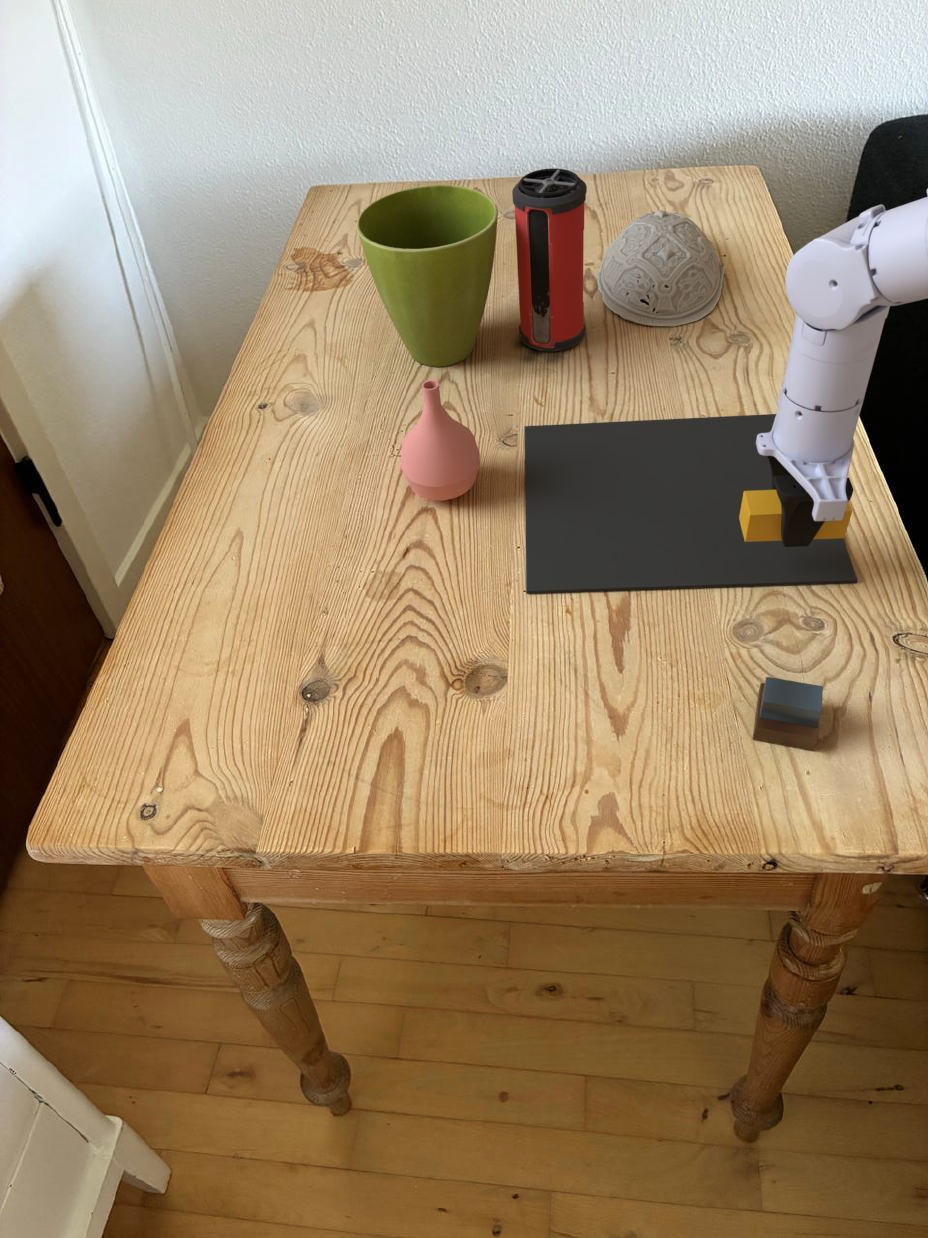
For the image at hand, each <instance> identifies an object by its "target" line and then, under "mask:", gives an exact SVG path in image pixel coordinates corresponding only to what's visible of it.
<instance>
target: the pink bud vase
mask: <svg viewBox="0 0 928 1238" xmlns="http://www.w3.org/2000/svg"><path fill="white" fill-rule="evenodd" d="M421 390H422V399H423V403H424V408H423V410H422V413H421V415H420V417H419V419H418V421H417V423H416V424H415V425H414V426H413V427H412V428H411V429H410V430H408V432H407V433H406V435H405V436H404V437H403V439H402V441H401V449H400V451H401V452H400V453H401V454H400V470H401V472H402V474H403V475H404V477H405V479H406V481H407V483H408V484H409V486H410V488H411V490H412V492H414V493H415V494H416V495H417V496H419V497H420V498H423V499H427V500H430V501H447V500H453V499H455V498H458V497H460V496H462V495H464V494H466V493H467V492H468V491H469V490H471V489H472V487H473V486H474V484H475V481H476V479H477V477H478V476H477V475H478V471H479V467H480V465H481V454H480V451H479V446H478V444H477V441H476V439H475V435H474V434H473V432H472V431H471V429H470V428H468V427H467V426H465V425H464V424H463V423H461V422H460V421H457V420H456V419H454V418H453V417H452V416H451V415H450V414H449V413H448V411H447V410H446V409H445V407H443V405H442V400H441V391H440V383H439V381H437V380H435V379H428V380H426V381H424V382H423V383H422V384H421Z"/></svg>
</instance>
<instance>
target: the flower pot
mask: <svg viewBox="0 0 928 1238" xmlns="http://www.w3.org/2000/svg"><path fill="white" fill-rule="evenodd" d="M498 209H499V208H498V206H497V203H495V201H494V200H493V199H492V198H491V197H490V196H489V195H487V194H486V193H484V192H482V191H479V190H477V189H474V188H471V187H466V186H462V185H451V184H433V185H432V184H431V185H422V186H415V187H409V188H405V189H401V190H397V191H395V192H391V193H389V194H387V195H384V196H382V197H380V198H378V199H376V200H375V201H372V203H370V204H368V205H367V206H366V207H365V208H364V209H362V211H361V212H360V214H359V215H358V217H357V219H356V225H355V226H356V231H357V234H358V237H359V241H360V245H361V248H362V251H363V253H364V257H365V260H366V263H367V266H368V269H369V272H370V275H371V277H372V279H373V283H374V284H375V285H374V286H375V288H376V289H377V292H378V295H379V297H380V299H381V301H382V303H383V306H384V308H385V310H386V312H387V314H388V317H389V318H390V320H391V322H392V324H393V326H394V328H395V330H396V332H397V334H398V335H399V338H400V339H401V341H402V343H403V344H404V346H405V348H406V349H407V351H408V353H409V354H410V355H411V357H412V359H413V360H414V361H415V362H416V363H419V364H421V365H423V366H427V367H435V368H437V367H439V368H440V367H441V368H442V367H448V366H452V365H456V364H458V363H461V362H462V361H464V360H466V359H467V358H468V357H469V356H470V355H471V353H472V352H473V349H474V347H475V343H476V341H477V338H478V335H479V331H480V329H481V328H480V327H481V325H482V322H483V321H482V320H483V317H484V312H485V309H486V305H487V300H488V297H489V290H490V286H491V281H492V274H493V268H494V267H493V266H494V261H495V260H494V259H495V253H496V245H497V244H496V242H497V232H498V231H497V230H498V219H499V217H498V216H499V210H498Z"/></svg>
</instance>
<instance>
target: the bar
mask: <svg viewBox="0 0 928 1238" xmlns="http://www.w3.org/2000/svg"><path fill="white" fill-rule="evenodd" d="M852 514H853V509H852V506H851V504H850V500H849V501H848V502H847V505H846V509H845V512H844V516H843V520H837V521H825V522H824V524H823V525H822V526H821V528H820V530H819V531H818V533H817V534H816V536H815V537H814V539H838V538H843V539H845V537H846V534H847V531H848V528H849V523H850V521H851V518H852ZM781 516H782V510H781V502H780V499H779V497H778V494H777V491H776V490H755V491H744V492H743V498H742V504H741V510H740V516H739V520H740V524H741V528H742V532H743V536H744V540H745V542H756V541H782V537H781Z"/></svg>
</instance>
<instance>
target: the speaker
mask: <svg viewBox="0 0 928 1238" xmlns="http://www.w3.org/2000/svg"><path fill="white" fill-rule="evenodd" d="M587 189H588V188H587V184H586V182H585V181H584V180H583V179H581V177H580V176H578V174H576V173H575V172H574V171H571V170H569V169H565V168H557V167H555V168H553V167H552V168H550V167H549V168H543V169H542V168H541V169H538V170H537V169H536V170H533V171H531V172H528V173H527V174H525V175H524V176H522V178H520V180H519V181H518V182H517V183H516V184H515V185H514V187H513V188H512V191H511V192H512V193H511V194H512V195H511V196H512V203H513V205H514V219H515V222H514V223H515V240H516V241H515V242H516V261H517V262H516V263H517V264H516V265H517V266H516V267H517V285H518V307H519V325H518V335H519V336H518V337H519V339H520V341H521V342H522V343H523V344H524V345H525V346H526V347H529V348H530V349H534V350H537V351H540V352H542V353H556V352H560V351H563V350H570V349H571V348H573V347H575V346H576V345H578V344H579V343H581V342H582V340H583V339H584V337H585V336H586V325H585V324H584V322H585V321H584V316H585V315H584V309H585V307H584V306H585V302H584V250H585V249H584V247H585V246H584V245H585V243H584V239H585V238H584V235H585V234H584V233H585V202H586V200H587V191H588V190H587Z"/></svg>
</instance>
